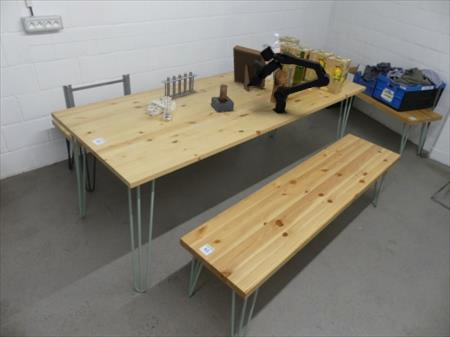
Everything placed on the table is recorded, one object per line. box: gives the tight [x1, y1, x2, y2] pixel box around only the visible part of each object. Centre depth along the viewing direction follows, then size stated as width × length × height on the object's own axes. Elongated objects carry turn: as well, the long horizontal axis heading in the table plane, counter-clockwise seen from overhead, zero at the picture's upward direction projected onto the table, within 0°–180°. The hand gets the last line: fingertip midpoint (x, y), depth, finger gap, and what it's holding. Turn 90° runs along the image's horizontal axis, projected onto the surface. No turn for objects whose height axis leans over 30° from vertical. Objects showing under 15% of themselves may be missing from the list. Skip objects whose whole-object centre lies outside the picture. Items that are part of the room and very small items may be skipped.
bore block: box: [210, 95, 235, 113], centre depth 209 cm, size 10×10×5 cm
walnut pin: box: [219, 84, 228, 102], centre depth 207 cm, size 4×4×13 cm
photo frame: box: [232, 45, 267, 92], centre depth 238 cm, size 15×22×25 cm
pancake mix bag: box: [270, 64, 291, 104], centre depth 222 cm, size 7×19×28 cm, turn 137°
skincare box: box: [288, 66, 293, 87], centre depth 241 cm, size 8×7×16 cm
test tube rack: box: [161, 70, 198, 100], centre depth 218 cm, size 25×4×13 cm, turn 138°
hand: (248, 83), depth 211 cm, fingers open, 9 cm apart
